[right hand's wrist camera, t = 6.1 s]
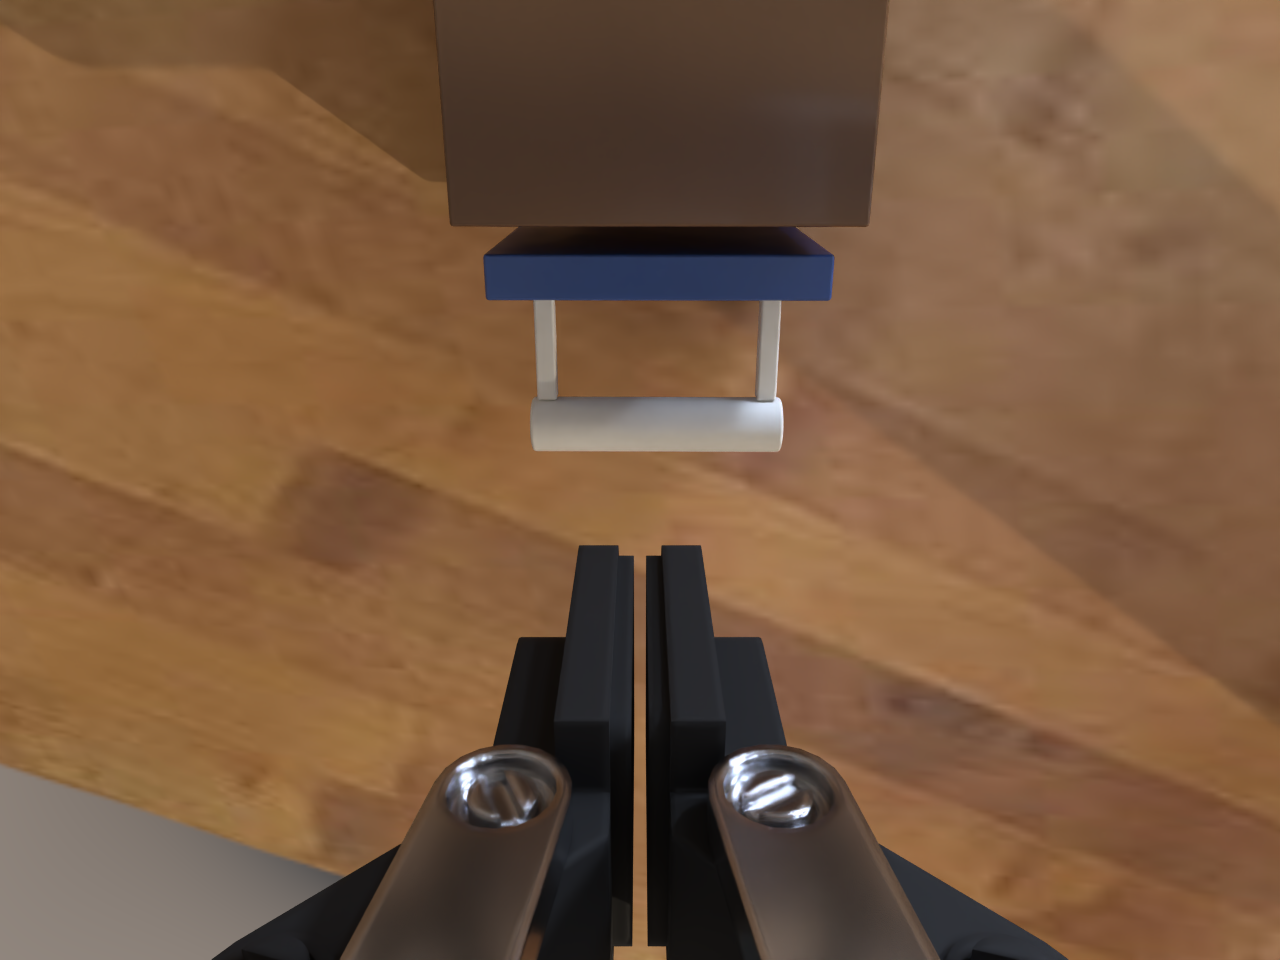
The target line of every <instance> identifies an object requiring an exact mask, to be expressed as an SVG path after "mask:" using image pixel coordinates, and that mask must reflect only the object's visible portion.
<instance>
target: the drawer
mask: <svg viewBox="0 0 1280 960" xmlns="http://www.w3.org/2000/svg"><path fill="white" fill-rule="evenodd" d="M483 260H484V276H485V292H486V298H487V299H488V300H533V304H534V327H535V350H536V373H537V397H534V398H533V400H532V403H531V412H530V434H531V443H532V447H533V449H534V450H535V451H677V452H777V451H779V450H780V448H781V445H782V438H783V408H782V403H781V400H780V398H777V397H776V388H777V370H778V353H779V335H780V318H781V301H828V300H830V299H831V295H832V282H833V269H834V255H832V254H831V253H830V252H828V251H827V250H826V249H824V248H823V247H821V246H820V245H819V244H817V243H816V242H815V241H813V240H812V239H811V238H809V237H808V236H806V235H805V234H804V233H802V232H801V231H800V230H798V229H797V228H796V227H518V228H517V229H516V230H514V231H513V232H512V233H511V234H509V235H508V236H507V237H506V238H504V239H503V240H502V241H501V242H500V243H498V244H497V245H496V246H495V247H493V248H492V249H491V250H490V251H488V252H487V253H486V254H485V255H484V257H483ZM555 300H710V301H759V321H758V342H757V363H756V384H755V395H756V397H557V396H558V374H557V345H556V315H555Z"/></svg>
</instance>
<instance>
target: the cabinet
mask: <svg viewBox="0 0 1280 960" xmlns="http://www.w3.org/2000/svg"><path fill="white" fill-rule="evenodd" d="M433 3H434V16H435V30H436V43H437V57H438V70H439V83H440V97H441V110H442V124H443V137H444V151H445V164H446V178H447V191H448V205H449V218H450V224H451V226H518V227H866V226H868V225H869V222H870V211H871V200H872V188H873V177H874V166H875V155H876V144H877V132H878V121H879V110H880V99H881V88H882V76H883V65H884V54H885V43H886V32H887V20H888V9H889V0H433Z"/></svg>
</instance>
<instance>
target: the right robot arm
mask: <svg viewBox="0 0 1280 960" xmlns="http://www.w3.org/2000/svg"><path fill="white" fill-rule="evenodd" d="M633 815H634V556H619V548H618V545H579V549H578V556H577V563H576V570H575V577H574V584H573V591H572V598H571V605H570V612H569V619H568V626H567V633H566V637H521V638H519V640H518V643H517V646H516V651H515V655H514V659H513V663H512V668H511V672H510V676H509V680H508V685H507V689H506V693H505V697H504V702H503V706H502V710H501V714H500V719H499V723H498V727H497V731H496V736H495V740H494V744H493V746H491V747H486V748H481V749H478V750H476V751H473V752H471V753H469V754H466V755H464V756H462V757H460V758H458V759H457V760H456V761H454V762H453V763H452V764H450V765H449V766H447V767H446V768H445V769H444V770H443V772H442V773H441V774H440V775H439V777H438V778H437V779H436V781H435V782H434V784H433V786H432V788H431V789H430V791H429V793H428V795H427V797H426V799H425V801H424V803H423V804H422V806H421V808H420V810H419V812H418V814H417V816H416V818H415V819H414V821H413V823H412V825H411V827H410V829H409V831H408V833H407V834H406V836H405V838H404V840H403V842H402V843H401V844H400V845H398V846H396V847H395V848H393V849H391V850H390V851H388V852H386V853H385V854H383V855H381V856H380V857H378V858H376V859H375V860H373V861H371V862H369V863H368V864H366V865H364V866H363V867H361V868H359V869H358V870H356V871H354V872H353V873H351V874H349V875H348V876H346V877H344V878H342V879H341V880H339V881H337V882H336V883H334V884H332V885H331V886H329V887H327V888H326V889H324V890H322V891H321V892H319V893H317V894H316V895H314V896H312V897H310V898H309V899H307V900H305V901H304V902H302V903H300V904H299V905H297V906H295V907H294V908H292V909H290V910H289V911H287V912H285V913H283V914H282V915H280V916H278V917H277V918H275V919H273V920H272V921H270V922H268V923H267V924H265V925H263V926H262V927H260V928H258V929H257V930H255V931H253V932H252V933H250V934H248V935H246V936H245V937H243V938H241V939H240V940H238V941H236V942H235V943H233V944H232V945H231V946H229V947H228V948H227V949H225V950H224V951H223V952H221V953H220V954H218V955H217V956H216V957H214V958H213V959H212V960H613V956H614V946H632V921H633ZM646 815H647V921H648V946H666V956H667V960H1068V959H1067V958H1066V957H1064V956H1063V955H1062V954H1060V953H1059V952H1057V951H1056V950H1055V949H1053V948H1052V947H1051V946H1049V945H1048V944H1047V943H1045V942H1044V941H1042V940H1040V939H1039V938H1037V937H1035V936H1034V935H1032V934H1030V933H1029V932H1027V931H1025V930H1023V929H1022V928H1020V927H1018V926H1017V925H1015V924H1013V923H1012V922H1010V921H1008V920H1007V919H1005V918H1003V917H1002V916H1000V915H998V914H997V913H995V912H993V911H991V910H990V909H988V908H986V907H985V906H983V905H981V904H980V903H978V902H976V901H975V900H973V899H971V898H970V897H968V896H966V895H964V894H963V893H961V892H959V891H958V890H956V889H954V888H953V887H951V886H949V885H948V884H946V883H944V882H943V881H941V880H939V879H938V878H936V877H934V876H932V875H931V874H929V873H927V872H926V871H924V870H922V869H921V868H919V867H917V866H916V865H914V864H912V863H911V862H909V861H907V860H905V859H904V858H902V857H900V856H899V855H897V854H895V853H894V852H892V851H890V850H889V849H887V848H885V847H884V846H882V845H880V844H879V843H878V842H877V840H876V838H875V836H874V834H873V833H872V831H871V829H870V827H869V825H868V823H867V821H866V819H865V818H864V816H863V814H862V812H861V810H860V808H859V806H858V804H857V803H856V801H855V799H854V797H853V795H852V793H851V791H850V789H849V788H848V786H847V784H846V782H845V781H844V779H843V778H842V777H841V775H840V774H839V773H838V772H837V770H836V769H835V768H834V767H833V766H831V765H830V764H828V763H827V762H826V761H824V760H823V759H822V758H820V757H818V756H816V755H814V754H811V753H809V752H807V751H804V750H802V749H799V748H794V747H789V746H787V744H786V740H785V736H784V731H783V727H782V723H781V719H780V714H779V710H778V706H777V702H776V697H775V693H774V689H773V685H772V680H771V676H770V672H769V668H768V663H767V659H766V655H765V651H764V646H763V643H762V640H761V638H759V637H714V633H713V626H712V619H711V612H710V605H709V598H708V591H707V584H706V577H705V570H704V563H703V556H702V549H701V545H662V548H661V556H646Z"/></svg>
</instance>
